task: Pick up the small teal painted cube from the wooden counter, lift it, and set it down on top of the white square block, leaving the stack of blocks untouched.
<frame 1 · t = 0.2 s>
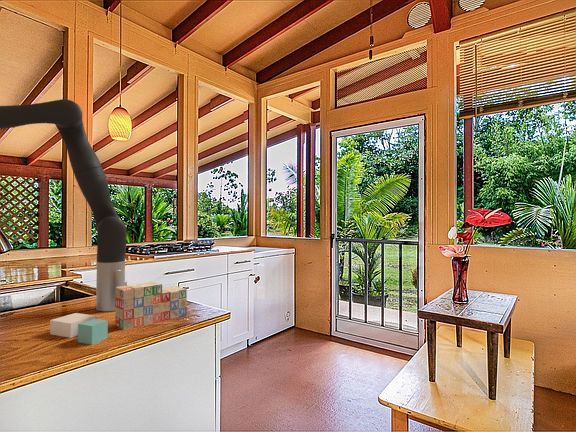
stack of blocks: (152, 321, 114), on the counter
white square block: (73, 331, 102), on the counter
teal cube: (92, 340, 95), on the counter
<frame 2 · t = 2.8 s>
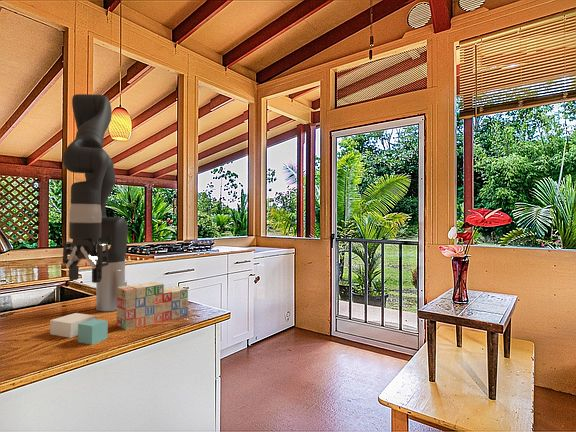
hand: (84, 281, 94), 16 cm above the counter, tool pointing down, fingers open, 8 cm apart
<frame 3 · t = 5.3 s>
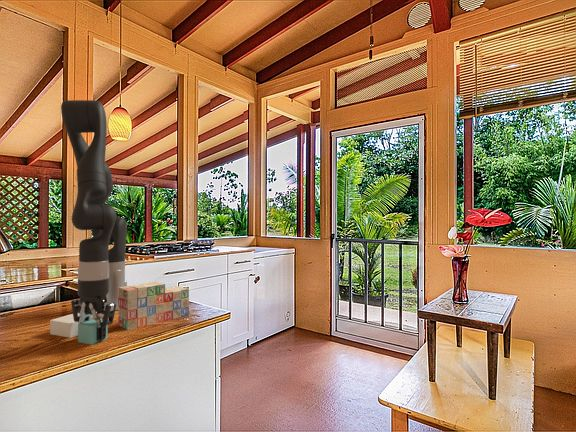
hand: (92, 338, 95), 0 cm above the counter, tool pointing down, fingers closed on teal cube, 5 cm apart
teal cube: (92, 340, 95), on the counter, touching gripper
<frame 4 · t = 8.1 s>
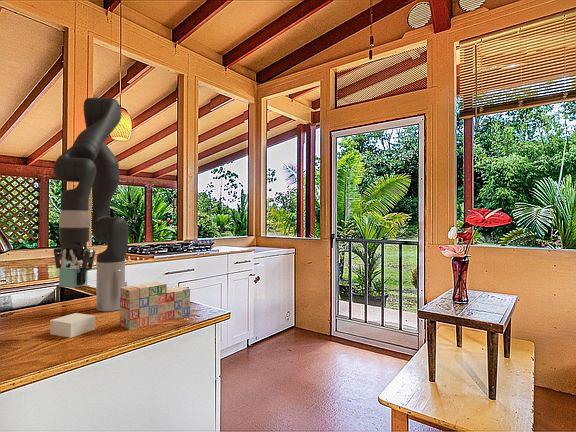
hand: (73, 283, 102), 14 cm above the counter, tool pointing down, fingers closed on teal cube, 5 cm apart
teal cube: (73, 285, 101), point 13 cm above the counter, touching gripper
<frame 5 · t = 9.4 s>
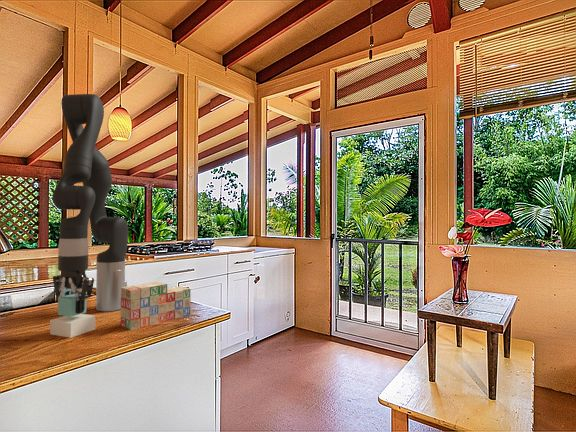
hand: (72, 311, 101), 6 cm above the counter, tool pointing down, fingers closed on teal cube, 5 cm apart
teal cube: (72, 313, 101), point 5 cm above the counter, touching gripper
when the fingers open (5 cm above the counter, at t = 10.4 s): teal cube stays where it is, resting on white square block.
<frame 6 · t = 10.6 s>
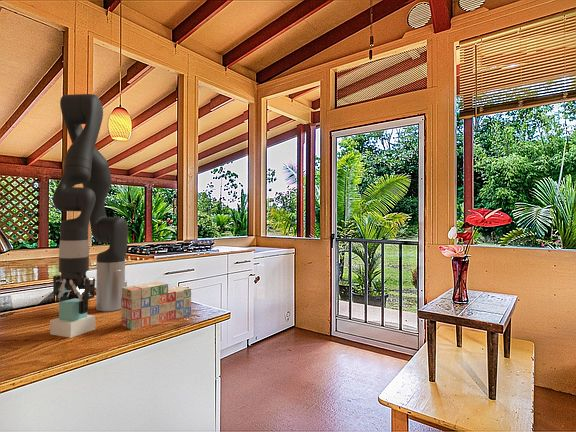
hand: (73, 311, 102), 6 cm above the counter, tool pointing down, fingers open, 7 cm apart
teal cube: (73, 318, 102), point 4 cm above the counter, touching white square block
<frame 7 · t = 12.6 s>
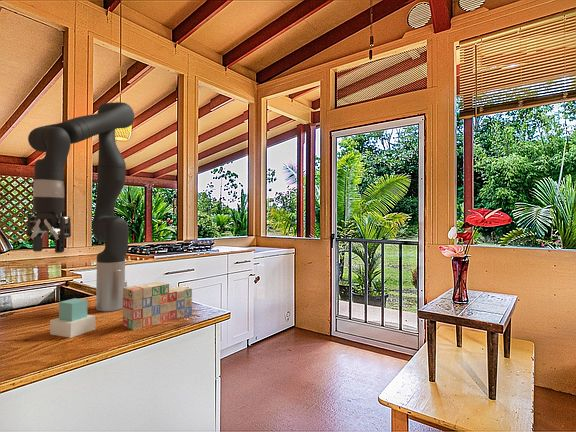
hand: (48, 251, 101), 23 cm above the counter, tool pointing down, fingers open, 8 cm apart
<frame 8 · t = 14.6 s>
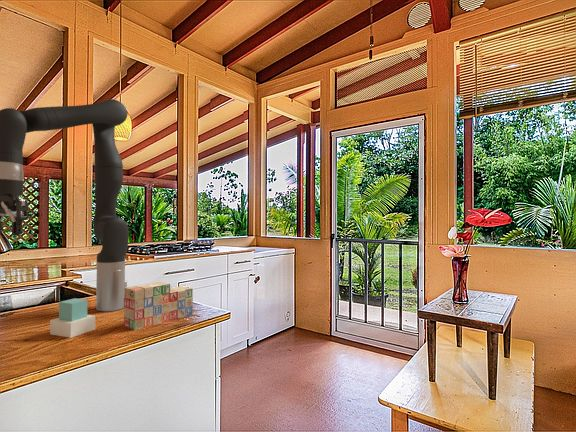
hand: (6, 234, 101), 28 cm above the counter, tool pointing down, fingers open, 8 cm apart
at the end: teal cube inside the target area on the white square block (0.1 cm from its centre), point 4.0 cm above the white square block's base; teal cube tilted 0°; the gripper is holding nothing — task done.
